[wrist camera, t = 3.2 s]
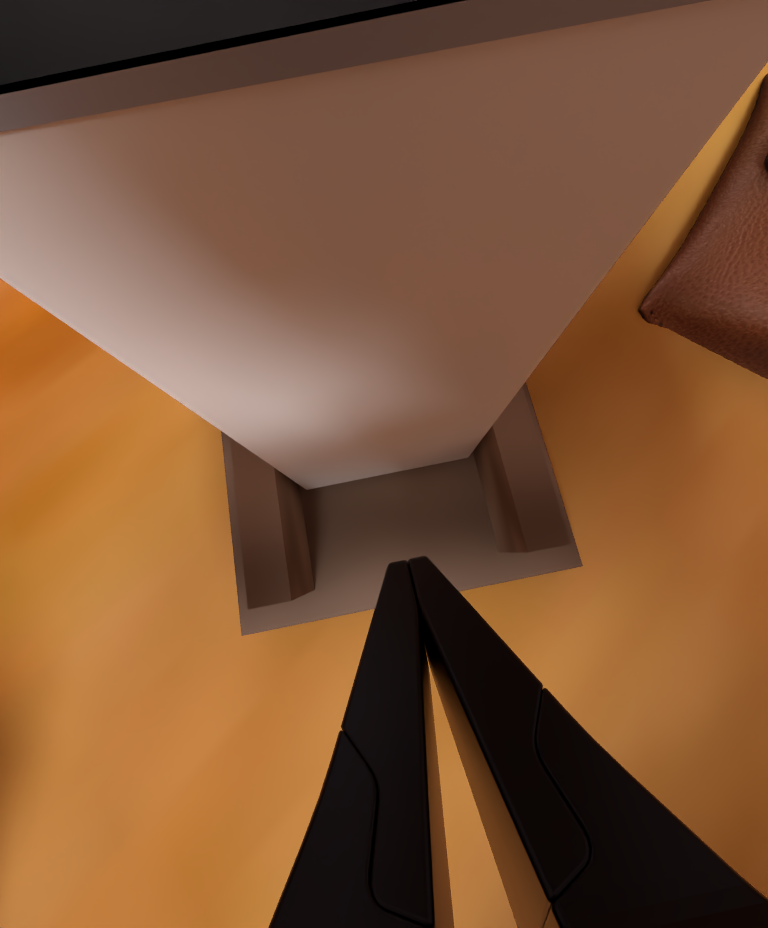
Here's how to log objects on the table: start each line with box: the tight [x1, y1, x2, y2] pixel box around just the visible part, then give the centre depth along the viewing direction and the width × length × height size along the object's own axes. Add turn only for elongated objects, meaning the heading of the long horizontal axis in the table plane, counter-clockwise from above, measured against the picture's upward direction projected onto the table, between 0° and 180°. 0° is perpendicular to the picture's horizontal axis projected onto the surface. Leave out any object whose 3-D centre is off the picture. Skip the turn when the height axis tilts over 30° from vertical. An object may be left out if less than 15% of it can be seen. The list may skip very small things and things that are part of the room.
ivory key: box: [0, 0, 768, 490], centre depth 8 cm, size 5×6×13 cm
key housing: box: [221, 382, 583, 636], centre depth 14 cm, size 16×12×6 cm
